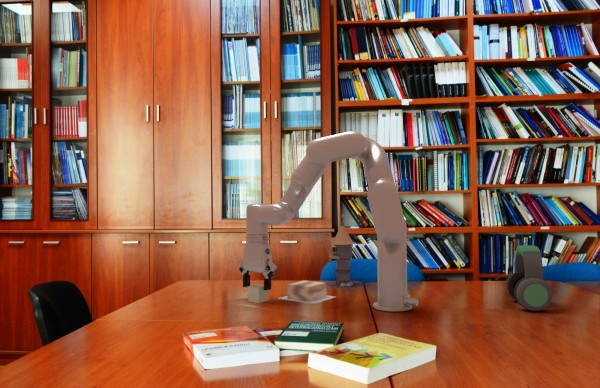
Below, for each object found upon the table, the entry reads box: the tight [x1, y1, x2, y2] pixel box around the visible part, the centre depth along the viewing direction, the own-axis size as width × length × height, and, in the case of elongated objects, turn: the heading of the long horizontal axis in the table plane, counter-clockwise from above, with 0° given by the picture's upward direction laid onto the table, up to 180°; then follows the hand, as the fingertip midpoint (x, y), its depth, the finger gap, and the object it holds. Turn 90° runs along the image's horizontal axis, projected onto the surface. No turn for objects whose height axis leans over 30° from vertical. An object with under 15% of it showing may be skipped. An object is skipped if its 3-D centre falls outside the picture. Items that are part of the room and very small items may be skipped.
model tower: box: [326, 213, 355, 288], centre depth 208 cm, size 10×11×30 cm
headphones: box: [506, 244, 553, 312], centre depth 165 cm, size 19×11×20 cm, turn 168°
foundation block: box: [286, 279, 327, 302], centre depth 179 cm, size 10×10×5 cm
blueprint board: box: [277, 294, 336, 304], centre depth 179 cm, size 16×14×1 cm
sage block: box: [247, 284, 269, 304], centre depth 175 cm, size 5×5×6 cm
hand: (256, 288), depth 175 cm, fingers open, 9 cm apart
